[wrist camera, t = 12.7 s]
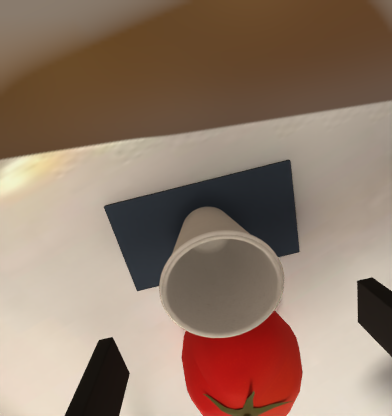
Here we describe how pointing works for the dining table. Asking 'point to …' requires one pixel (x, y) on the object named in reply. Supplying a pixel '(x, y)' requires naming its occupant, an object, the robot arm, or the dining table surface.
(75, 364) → the dining table surface
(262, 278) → the dixie cup
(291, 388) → the tomato
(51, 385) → the dining table surface
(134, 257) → the placemat
